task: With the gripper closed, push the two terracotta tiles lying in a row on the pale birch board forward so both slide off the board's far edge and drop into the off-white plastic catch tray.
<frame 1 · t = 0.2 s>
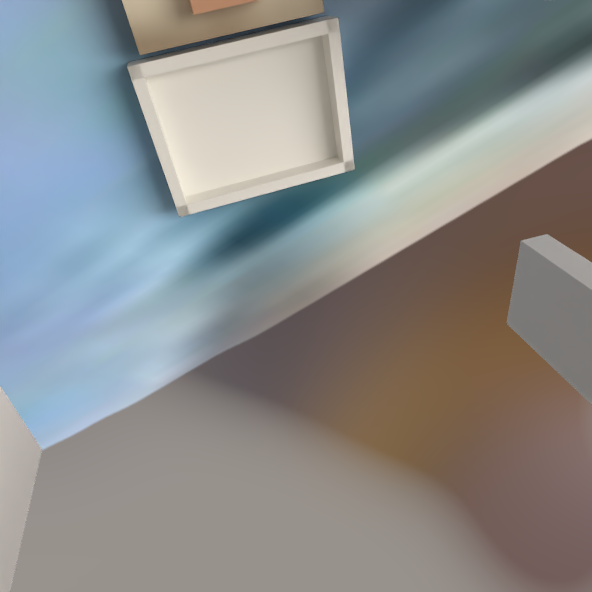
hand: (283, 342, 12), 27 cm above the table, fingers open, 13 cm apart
catch tray: (248, 116, 36), on the table
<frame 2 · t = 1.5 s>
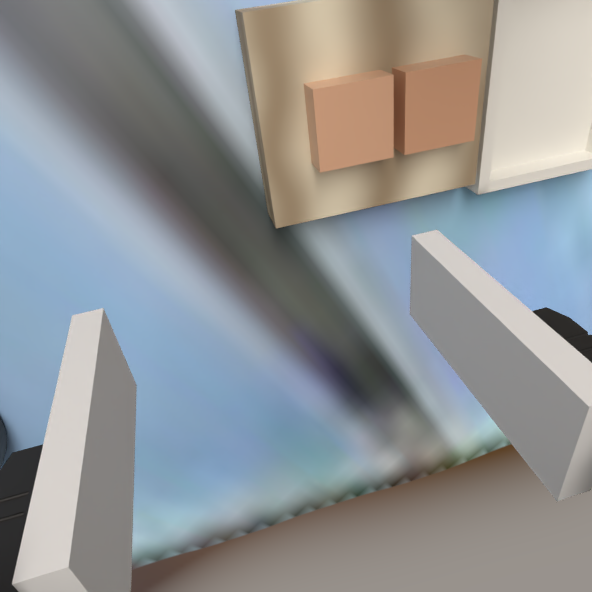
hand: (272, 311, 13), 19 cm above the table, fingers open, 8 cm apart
board: (361, 102, 30), on the table
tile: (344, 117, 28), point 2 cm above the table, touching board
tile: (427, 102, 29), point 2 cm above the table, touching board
catch tray: (541, 68, 32), on the table
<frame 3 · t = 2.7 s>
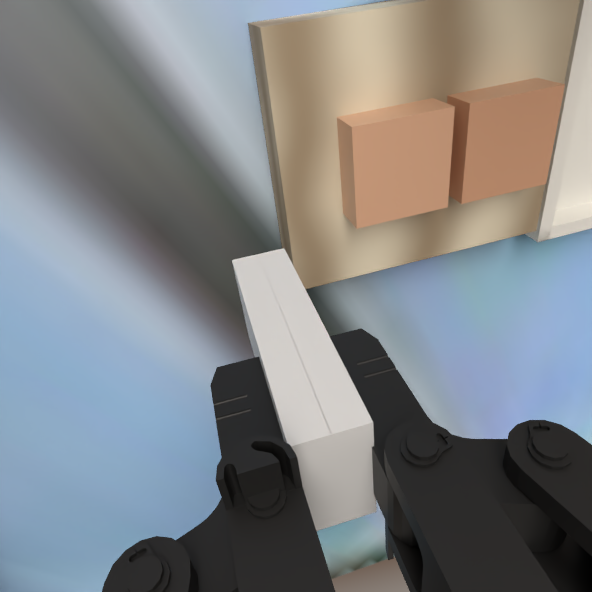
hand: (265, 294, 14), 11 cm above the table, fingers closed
board: (402, 135, 24), on the table
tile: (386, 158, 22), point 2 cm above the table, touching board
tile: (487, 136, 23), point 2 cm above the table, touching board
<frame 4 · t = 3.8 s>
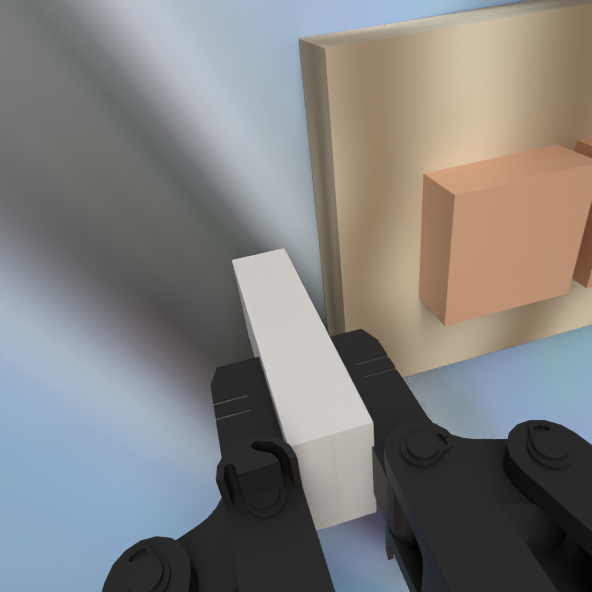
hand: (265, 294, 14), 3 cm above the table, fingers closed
board: (493, 186, 18), on the table
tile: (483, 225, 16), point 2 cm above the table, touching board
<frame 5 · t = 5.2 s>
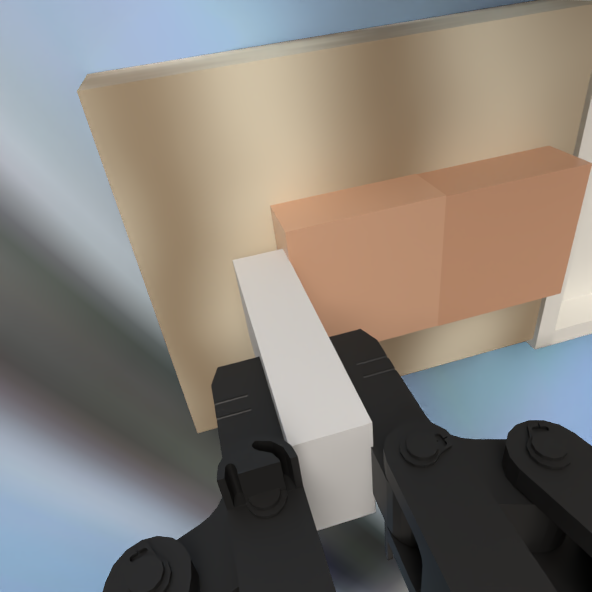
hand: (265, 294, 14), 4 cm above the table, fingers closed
board: (344, 219, 17), on the table
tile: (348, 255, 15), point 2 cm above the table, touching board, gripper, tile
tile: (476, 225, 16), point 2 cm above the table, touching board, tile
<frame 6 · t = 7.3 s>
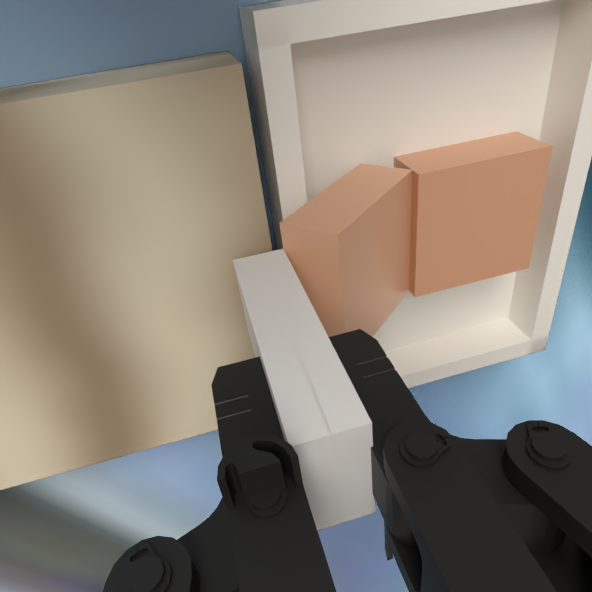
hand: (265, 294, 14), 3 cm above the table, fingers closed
board: (55, 285, 16), on the table
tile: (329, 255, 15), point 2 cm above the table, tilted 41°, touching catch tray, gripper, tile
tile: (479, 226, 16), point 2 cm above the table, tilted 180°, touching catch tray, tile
catch tray: (412, 205, 18), on the table
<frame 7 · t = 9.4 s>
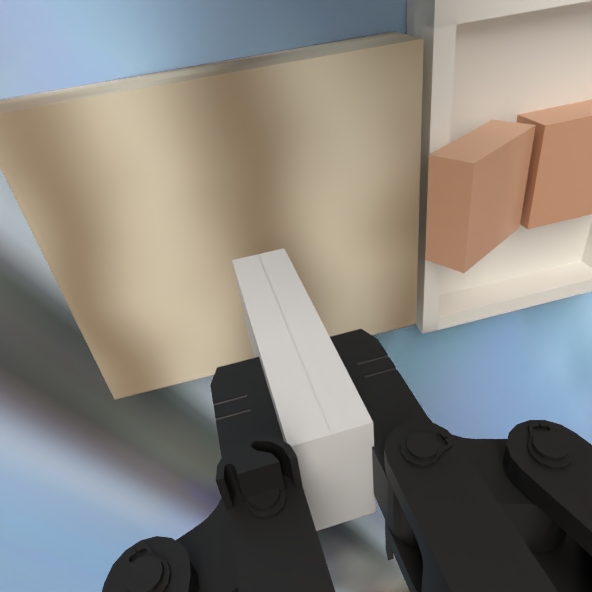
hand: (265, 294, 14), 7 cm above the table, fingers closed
board: (238, 218, 20), on the table
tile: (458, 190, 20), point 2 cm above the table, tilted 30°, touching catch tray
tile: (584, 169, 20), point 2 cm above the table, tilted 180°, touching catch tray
catch tray: (514, 159, 22), on the table
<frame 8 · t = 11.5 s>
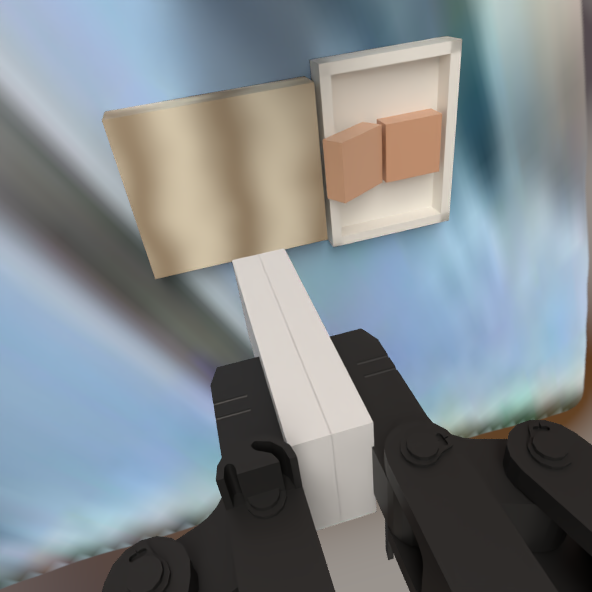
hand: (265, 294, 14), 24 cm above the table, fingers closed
board: (224, 176, 37), on the table
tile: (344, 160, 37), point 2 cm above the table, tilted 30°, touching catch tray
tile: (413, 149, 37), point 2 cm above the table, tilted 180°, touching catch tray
catch tray: (380, 144, 39), on the table
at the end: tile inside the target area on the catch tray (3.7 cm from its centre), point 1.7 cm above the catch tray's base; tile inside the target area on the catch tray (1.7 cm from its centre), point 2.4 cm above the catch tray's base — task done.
